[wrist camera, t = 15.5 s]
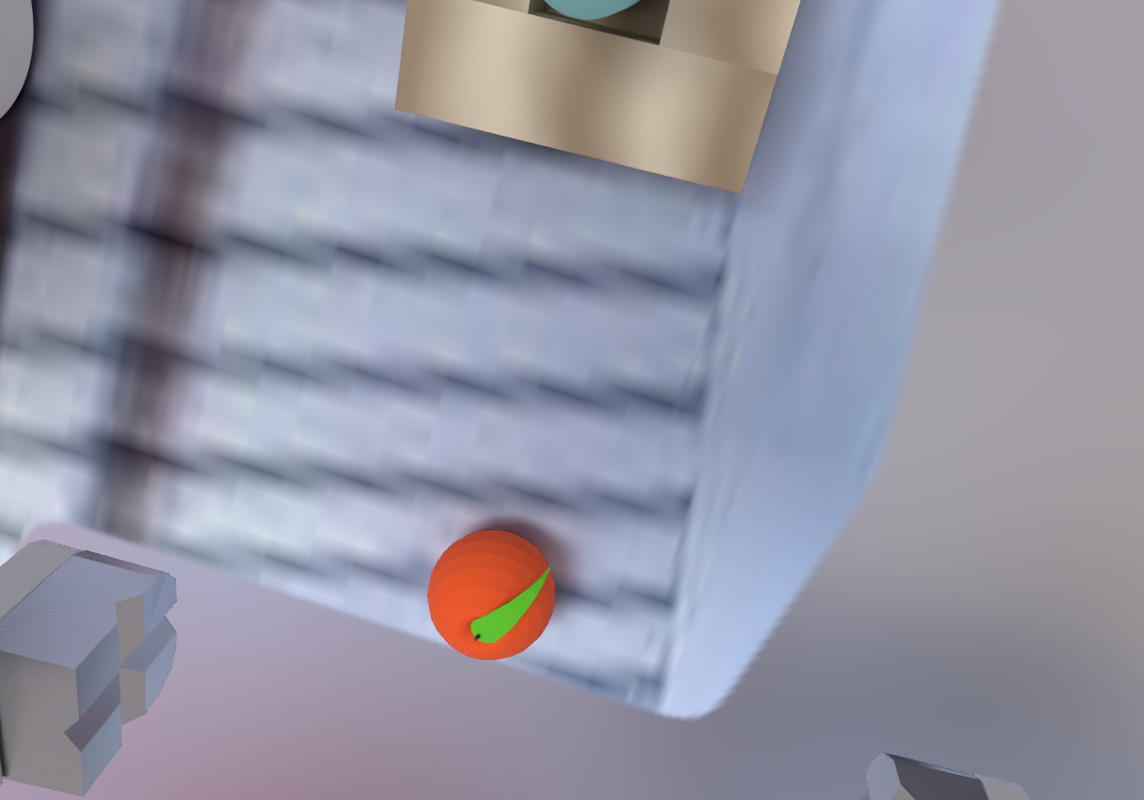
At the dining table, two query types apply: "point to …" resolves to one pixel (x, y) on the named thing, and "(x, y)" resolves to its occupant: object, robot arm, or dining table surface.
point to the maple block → (604, 78)
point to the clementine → (491, 594)
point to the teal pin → (590, 7)
